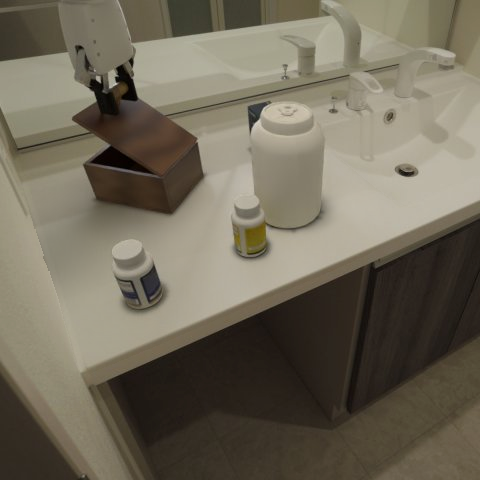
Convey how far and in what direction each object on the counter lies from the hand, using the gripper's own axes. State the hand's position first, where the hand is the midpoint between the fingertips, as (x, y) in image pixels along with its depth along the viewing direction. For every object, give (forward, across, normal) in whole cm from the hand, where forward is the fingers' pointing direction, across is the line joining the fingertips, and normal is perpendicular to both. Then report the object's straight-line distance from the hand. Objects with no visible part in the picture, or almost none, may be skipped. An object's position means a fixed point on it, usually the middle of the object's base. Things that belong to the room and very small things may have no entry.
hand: (119, 105), depth 72 cm
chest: (+17, 0, +2) cm, 17 cm away
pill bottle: (+17, +26, +15) cm, 34 cm away
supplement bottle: (+17, +11, +27) cm, 34 cm away
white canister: (+17, -1, +30) cm, 34 cm away
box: (+17, -19, +20) cm, 32 cm away
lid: (+4, 0, +3) cm, 5 cm away
